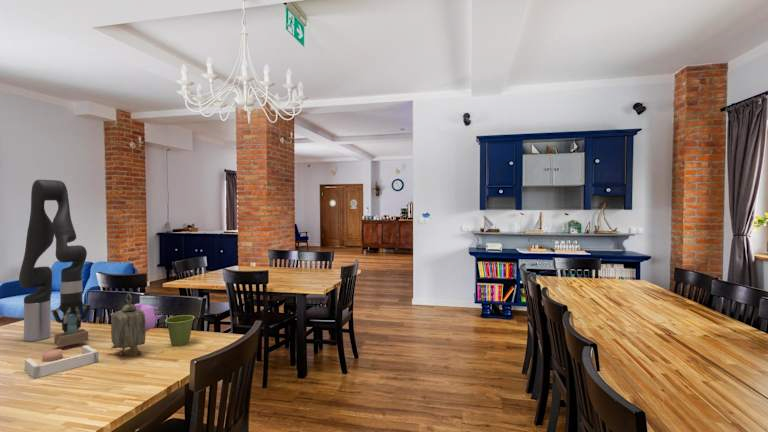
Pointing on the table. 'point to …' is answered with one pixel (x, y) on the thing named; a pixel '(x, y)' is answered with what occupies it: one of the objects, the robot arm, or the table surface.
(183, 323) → the plant pot
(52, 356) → the pink rounded dome
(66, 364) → the frame
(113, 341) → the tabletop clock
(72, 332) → the brown and teal block
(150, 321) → the teakettle
